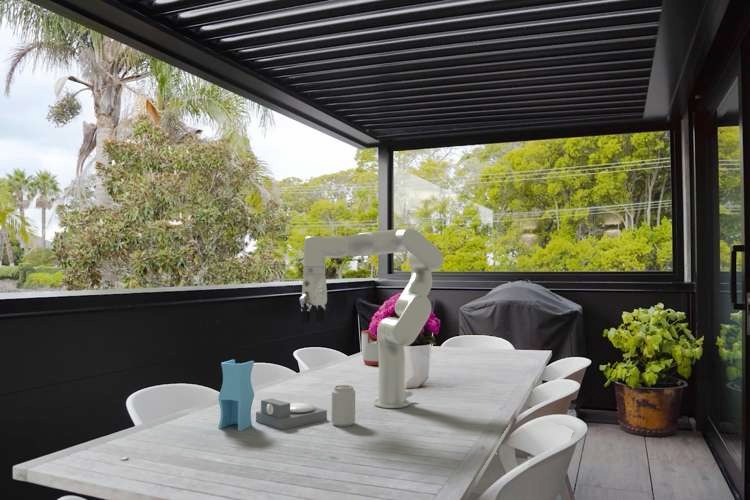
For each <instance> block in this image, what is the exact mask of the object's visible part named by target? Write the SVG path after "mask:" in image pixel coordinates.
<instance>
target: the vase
mask: <svg viewBox="0 0 750 500" xmlns="http://www.w3.org/2000/svg"><path fill="white" fill-rule="evenodd" d="M254 364H255V361H254V360H250V361H247V362H243V363H236V359H230V360H227V361H224V362H223V361H222V362H221V364H220V365H221V369H222V384H221V388H220V391H219V394H218V399H217V400H218V404H219V407H220V419H219V424H218V428H217V429H220V430H221V429H223V428H225V427H228V426H230V425H233V424H234V425H237V431H240V432H241V431H244V430H245V429H247V428H249V427H252V426H253V424H252V423H253V422H252V412H251V411H252V406H253V403H254V402H253V401H254V397H255V391H254V388H253V385H252V381H251V380H252V371H253V367H254Z"/></svg>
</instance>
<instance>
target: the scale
mask: <svg viewBox="0 0 750 500" xmlns="http://www.w3.org/2000/svg"><path fill="white" fill-rule="evenodd" d="M327 420H328V410H327V409H324V408H320V407H316V406H315V405H314V404H311V403H305V402H293V403H290V402H287V401H284V400H283V401H282V400H279V399H274V398H267V399H261V400H260V411H259V410H258V411H255V422H256V423H260V424H263V425H266V426H270V427H272V428H275V429H279V430H287V429H291V428H295V427H300V426H304V425H305V426H306V425H308V424H309V425H310V424H313V423H318V422H322V421H327Z"/></svg>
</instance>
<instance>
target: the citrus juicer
mask: <svg viewBox="0 0 750 500" xmlns="http://www.w3.org/2000/svg"><path fill="white" fill-rule="evenodd" d="M369 330H370V329H367V330H365V329H364V330H361V331H360V332H361V355H362V360H363V363H364V364H365V365H366V366H379V347H378V340H377V337H376V336H373V335H372V334H371V333H370V331H369Z"/></svg>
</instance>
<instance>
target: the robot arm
mask: <svg viewBox="0 0 750 500" xmlns="http://www.w3.org/2000/svg"><path fill="white" fill-rule="evenodd" d="M403 252H404V253H405V252H406V253H407V252H408V253H409V254H408V259H407V260H408V264H409V268H410V274H411V275H410V278H409V281H408V283H407V285H406V286H405V288H404V289H403V291H402V292H401V294H400V296H399V297H398V298H397V300H396V302H395V305H394V311H395V314H396V315H397V316H398V317H390V316H388V317H385V318H383V319H381V320H380V321H379V323H378V324H377V326H378V327H377V340H378V347H379V365H378V398H377V399H375V400H374V403H373V404H374V405H375V406H376V407H379V408H383V409H401V408H406V407H408V406H409V404H410V401H409V400H407V398H410V397H413V395H414V393H413V391H412V390H410V391H407V390H406V387H405V382H406V381H405V380H406V379H405V374H406V372H405V369H406V353H405V347H408V346H410V345H411V344H412V343H414V342H415V340H416V339H417V338H418V336H419V334H420V332H421V331H422V330H423V328H424V326H425V324H426V323H427V321H428V319H429V318H430V316H431V313H432V303H431V300H430V299H429V298H428V297H427V296H428V295H429V293H430V291H431V289H432V288H433V287H432V286H433V277H432V276H433V275H432V271H437V270H438V269H440V268H441V267H442V266H443V263H444V254H443V253H442V251H441V250H440V249H439V248H438V247H437V246H436V245H435V244H434V243H433V242H431V240H429V239H428V238H427V237H426V236H424V235H423V234H422V233H421V232H420V231H418V230H417V229H415V228H411V227H408V228H407V227H406V228H398V229H388V230H387V229H386V230H374V231H367V232H366V231H365V232H362V233H357V234H349V235H343V236H341V235H340V236H337V235H336V236H328V237H325V236H320V235H318V236H317V235H314V236H313V235H311V236H310V235H308V236H306V237H304V240H303V268H302V269H303V270H302V271H303V272H302V273H303V274H302V275H303V279H302V286H301V287H302V288H301V296H300V297H299V303H300V304H299V306H300V311H301V323H302V324H311V323H312V311H311V309H312V306H316V310H315V311H316V312H315V320H316V321H317V322H325V321H326V320H325V319H326V309H327V307H326V306H327V304H328V303H327V302H328V292H327V291H328V288H327V279H326V258H327V259H341V258H343V257H350V256H351V257H352V256H355V257H356V256H364V257H367V256H378V255H386V254H387V255H388V254H396V253H403Z"/></svg>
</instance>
